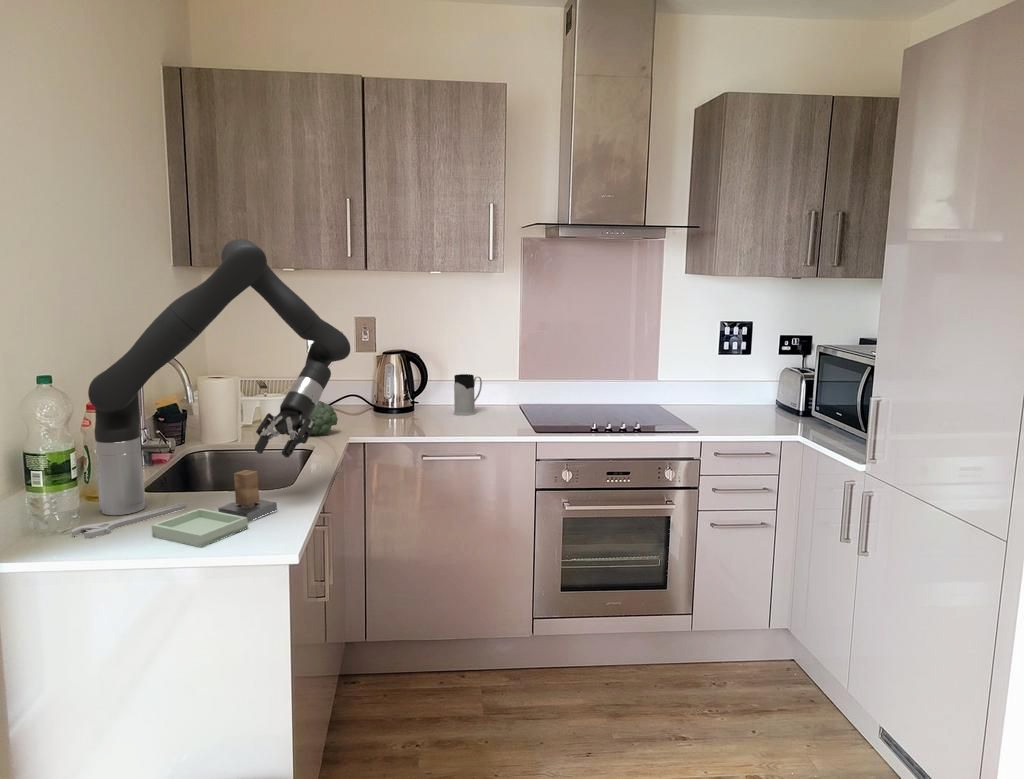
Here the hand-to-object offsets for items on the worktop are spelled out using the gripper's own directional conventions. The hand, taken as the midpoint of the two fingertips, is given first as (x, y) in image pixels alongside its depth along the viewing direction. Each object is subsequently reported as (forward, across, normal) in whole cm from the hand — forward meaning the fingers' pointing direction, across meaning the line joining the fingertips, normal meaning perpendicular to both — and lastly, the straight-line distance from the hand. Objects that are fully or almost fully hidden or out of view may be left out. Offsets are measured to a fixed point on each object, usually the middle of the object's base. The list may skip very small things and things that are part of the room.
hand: (271, 453), depth 180 cm
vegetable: (-38, -44, +56) cm, 81 cm away
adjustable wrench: (+26, -19, -8) cm, 33 cm away
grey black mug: (-78, -16, +95) cm, 124 cm away
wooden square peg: (+15, 0, +3) cm, 15 cm away
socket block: (+15, 0, +3) cm, 15 cm away
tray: (+24, 0, -6) cm, 25 cm away
